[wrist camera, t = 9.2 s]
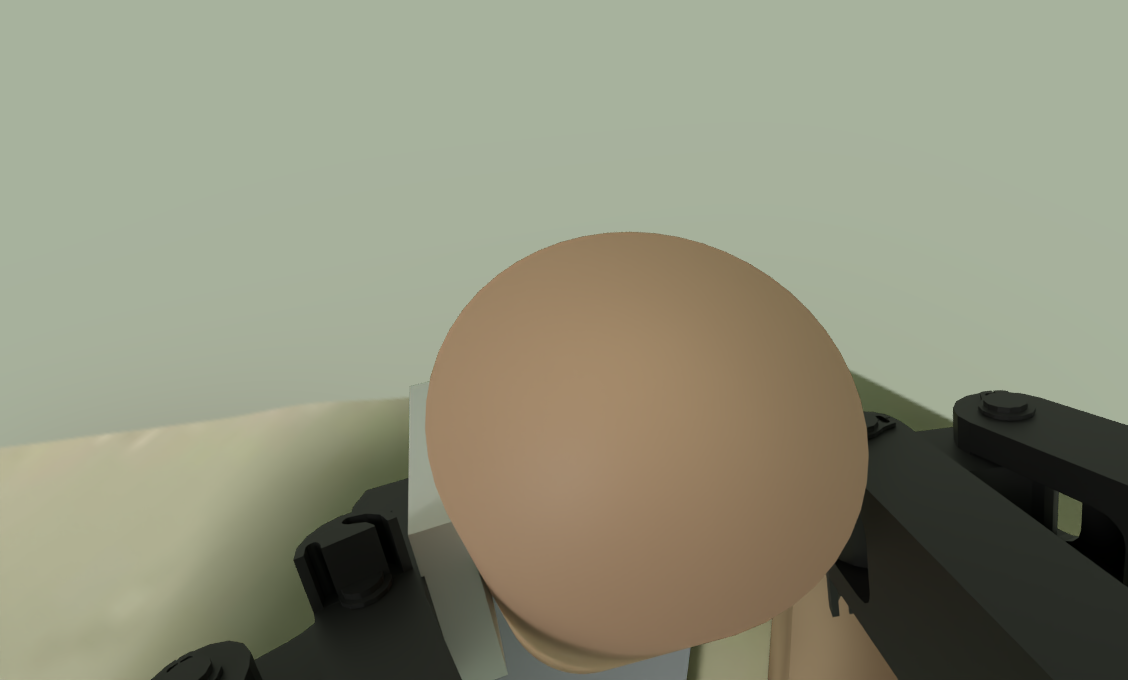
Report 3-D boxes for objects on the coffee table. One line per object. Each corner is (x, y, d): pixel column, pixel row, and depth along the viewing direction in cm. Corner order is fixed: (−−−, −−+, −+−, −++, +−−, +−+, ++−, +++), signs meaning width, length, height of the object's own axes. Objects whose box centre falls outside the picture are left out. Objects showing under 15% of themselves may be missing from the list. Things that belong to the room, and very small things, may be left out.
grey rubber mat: (393, 727, 24) (389, 729, 23) (479, 468, 29) (478, 463, 29) (665, 810, 23) (669, 814, 22) (702, 525, 28) (706, 522, 28)
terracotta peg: (479, 647, 16) (350, 567, 5) (526, 485, 18) (501, 199, 7) (645, 695, 15) (870, 714, 5) (673, 523, 17) (867, 277, 7)
